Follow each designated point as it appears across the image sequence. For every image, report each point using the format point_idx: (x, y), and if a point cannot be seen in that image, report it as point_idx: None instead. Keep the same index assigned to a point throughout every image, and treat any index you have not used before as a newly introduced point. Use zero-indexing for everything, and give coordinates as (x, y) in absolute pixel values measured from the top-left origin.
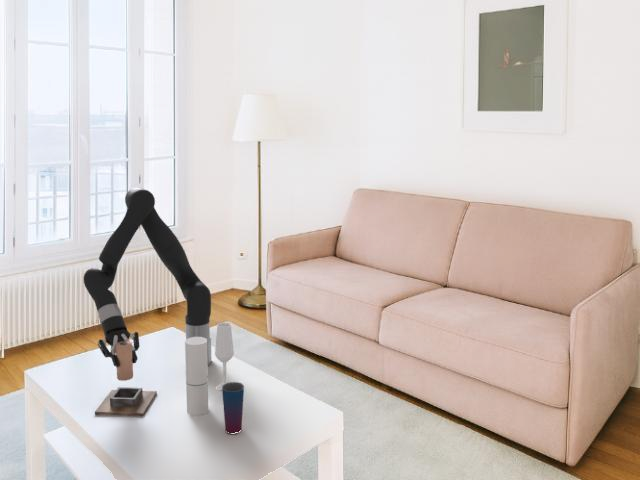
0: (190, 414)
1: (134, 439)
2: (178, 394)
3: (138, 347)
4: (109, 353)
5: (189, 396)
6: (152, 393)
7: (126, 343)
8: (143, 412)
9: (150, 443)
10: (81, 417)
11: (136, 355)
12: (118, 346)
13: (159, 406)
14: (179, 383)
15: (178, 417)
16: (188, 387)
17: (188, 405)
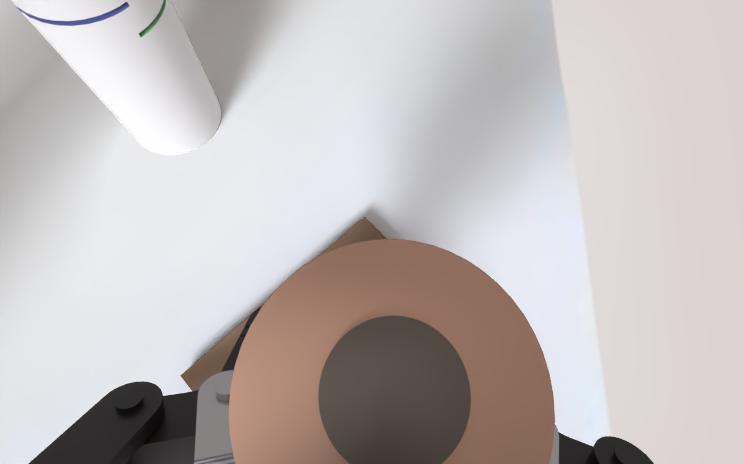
0: (220, 107)
1: (470, 104)
2: (118, 292)
3: (140, 384)
4: (598, 445)
5: (192, 50)
6: (213, 366)
7: (348, 361)
8: (358, 223)
9: (439, 54)
10: (585, 402)
11: (241, 336)
12: (528, 341)
13: (262, 249)
14: (12, 405)
15: (266, 123)
16: (172, 17)
17: (208, 93)
